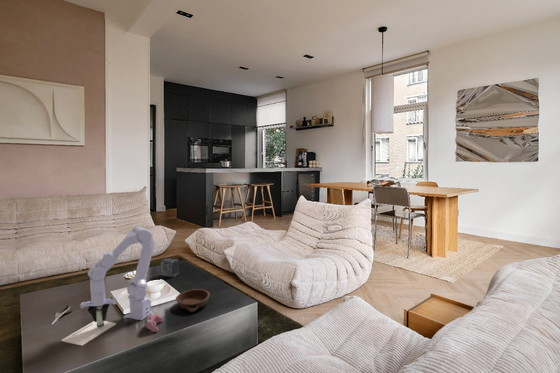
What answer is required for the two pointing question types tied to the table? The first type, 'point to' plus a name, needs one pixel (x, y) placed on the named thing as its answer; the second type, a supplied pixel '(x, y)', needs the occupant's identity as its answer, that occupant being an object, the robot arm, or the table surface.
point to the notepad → (87, 333)
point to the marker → (99, 317)
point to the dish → (193, 299)
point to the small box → (169, 267)
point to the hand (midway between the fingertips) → (100, 320)
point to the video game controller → (153, 322)
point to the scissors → (58, 315)
